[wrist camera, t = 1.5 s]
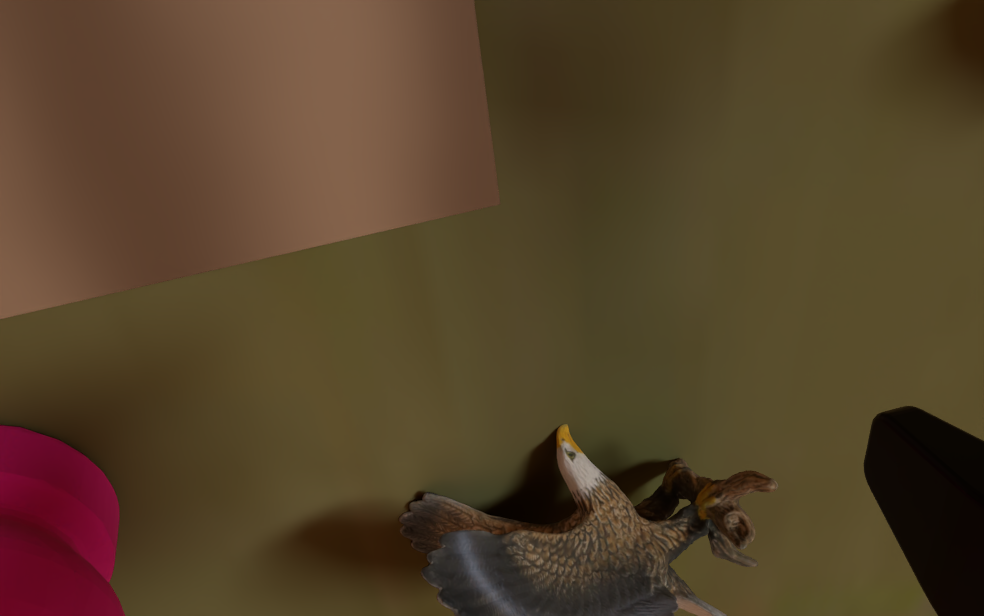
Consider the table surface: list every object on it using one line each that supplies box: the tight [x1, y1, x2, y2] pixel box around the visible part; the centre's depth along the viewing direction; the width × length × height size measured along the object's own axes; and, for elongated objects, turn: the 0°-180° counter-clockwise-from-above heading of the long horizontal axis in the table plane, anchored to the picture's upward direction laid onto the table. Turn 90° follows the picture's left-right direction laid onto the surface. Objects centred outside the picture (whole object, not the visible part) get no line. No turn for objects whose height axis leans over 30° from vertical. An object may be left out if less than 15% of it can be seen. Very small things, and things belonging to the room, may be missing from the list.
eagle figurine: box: [399, 424, 778, 616], centre depth 26 cm, size 8×7×9 cm
